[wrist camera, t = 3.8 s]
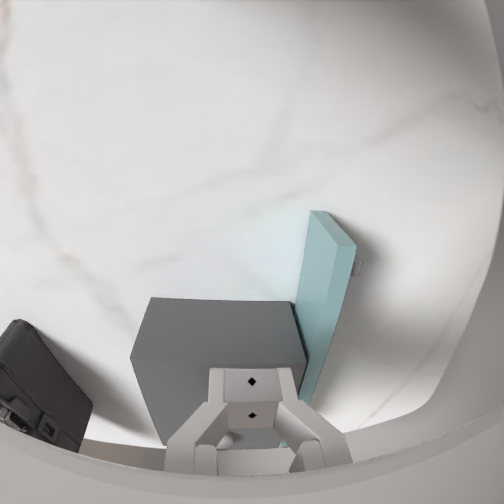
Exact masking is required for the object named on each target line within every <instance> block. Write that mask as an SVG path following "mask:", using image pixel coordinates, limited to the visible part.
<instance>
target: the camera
mask: <svg viewBox="0 0 504 504" xmlns="http://www.w3.org/2000/svg"><path fill="white" fill-rule="evenodd" d="M92 407H93V405H92V402H91V401H90V400H89V399H88V398H87V397H86V395H85V394H84V393H83V392H82V391H81V390H80V389H79V387H78V386H77V385H76V384H75V383H74V382H73V380H72V379H71V378H70V377H69V375H68V374H67V373H66V372H65V371H64V369H63V368H62V367H61V365H60V364H59V363H58V362H57V360H56V359H55V358H54V356H53V355H52V354H51V353H50V351H49V350H48V348H47V347H46V345H45V344H44V343H43V341H42V340H41V338H40V337H39V335H38V334H37V333H36V331H35V330H34V328H33V327H32V326H31V325H30V324H29V323H28V322H26V321H24V320H22V319H18V320H13V321H12V322H11V323H10V325H9V326H8V328H7V329H6V330H5V332H4V333H3V334H2V335H1V337H0V419H2V420H4V421H5V423H6V425H7V426H9V427H11V428H13V429H15V430H18V431H20V432H22V433H24V434H26V435H29V436H31V437H33V438H36V439H38V440H41V441H43V442H46V443H49V444H51V445H54V446H57V447H60V448H63V449H66V450H69V451H72V452H75V453H78V452H79V448H80V446H81V443H82V440H83V437H84V434H85V431H86V428H87V425H88V422H89V419H90V416H91V412H92Z"/></svg>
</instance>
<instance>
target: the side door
mask: <svg viewBox="0 0 504 504" xmlns="http://www.w3.org/2000/svg"><path fill="white" fill-rule="evenodd" d="M356 249H357V245H356V244H355V243H354V242H353V241H352V240H351V238H350V237H349V236H348V235H347V234H346V233H345V232H344V231H343V230H342V228H341V227H340V226H339V225H338V224H337V223H336V222H335V221H334V220H333V219H332V218H331V216H330V215H329V214H328V213H327V212H324V211H311V212H310V219H309V226H308V233H307V239H306V246H305V252H304V258H303V265H302V271H301V276H300V282H299V288H298V294H297V299H296V305H295V310H294V315H293V316H294V320H295V323H296V327H297V330H298V334H299V337H300V340H301V344H302V347H303V351H304V355H305V358H306V362H307V363H306V366H305V370H304V373H303V376H302V380H301V383H300V386H299V389H298V393H297V396H298V400H303V401H304V402H305V403H307V404H309V402H310V399H311V397H312V394H313V392H314V389H315V386H316V383H317V381H318V378H319V375H320V372H321V370H322V367H323V364H324V361H325V358H326V355H327V352H328V349H329V346H330V343H331V340H332V337H333V334H334V330H335V327H336V324H337V321H338V317H339V314H340V311H341V307H342V304H343V300H344V296H345V293H346V289H347V285H348V282H349V278H350V276H359V274H360V270H361V267H362V263H363V262H362V261H361V259H360V258H359V257H358V256H357V255H356ZM280 447H282V448H287V447H289V446H288V445H287V444H286V443H285V442H284V440H283V439H282V440H281V442H280Z"/></svg>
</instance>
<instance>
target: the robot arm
mask: <svg viewBox="0 0 504 504" xmlns="http://www.w3.org/2000/svg"><path fill="white" fill-rule="evenodd" d="M268 427H273V429H274V430H275V431H276V432H277V434H278V435H279V436H280V437H281V438H282V439H283V440H284V442H285V443H286V444H287V445H288V446H289V447H290V448H291V450H292V451H293V452H294V453H295V454H296V456H295V458H294V460H293V462H292V464H291V466H290V468H289V473H285V474H274V475H257V476H219V471H218V460H217V449H216V447H217V445H218V444H219V443H220V441H221V440H222V438H223V437H224V435H225V434H226V433H227V431H228V430H229V428H268ZM0 504H504V403H503V404H501V405H499V406H497V407H496V408H494V409H492V410H490V411H489V412H487V413H485V414H483V415H481V416H479V417H478V418H476V419H474V420H472V421H470V422H468V423H466V424H464V425H461V426H459V427H457V428H455V429H453V430H451V431H448V432H446V433H444V434H441V435H439V436H437V437H434V438H432V439H429V440H427V441H424V442H421V443H419V444H416V445H413V446H410V447H407V448H404V449H401V450H398V451H395V452H392V453H388V454H385V455H382V456H378V457H374V458H370V459H367V460H362V461H358V462H354V463H353V461H352V458H351V454H350V451H349V448H348V445H347V442H346V439H345V435H344V434H343V433H341V432H340V431H339V430H338V429H336V428H335V427H334V426H333V425H331V424H330V423H329V422H328V421H327V420H325V419H324V418H323V417H322V416H321V415H319V414H318V413H317V412H316V411H315V410H314V409H312V408H311V407H310V406H309V405H308V404H307V403H305V402H304V401H303V400H298V396H297V392H296V387H295V383H294V379H293V375H292V371H291V368H290V367H288V368H258V369H231V368H210V376H209V395H208V402H204V403H203V404H202V405H201V406H200V407H199V408H198V409H197V410H196V411H195V412H194V413H193V415H192V416H191V417H190V418H189V419H188V420H187V421H186V422H185V423H184V424H183V425H182V426H181V427H180V428H179V429H178V431H177V432H176V433H175V434H174V435H173V436H172V437H171V438H170V439H169V440H168V441H167V449H166V457H165V465H164V472H162V471H154V470H148V469H142V468H136V467H131V466H126V465H120V464H116V463H112V462H108V461H103V460H99V459H96V458H92V457H88V456H85V455H81V454H78V453H75V452H72V451H69V450H66V449H63V448H60V447H57V446H54V445H51V444H49V443H46V442H43V441H41V440H38V439H36V438H33V437H31V436H29V435H26V434H24V433H22V432H20V431H18V430H15V429H13V428H11V427H9V426H7V425H5V424H3V423H1V422H0Z"/></svg>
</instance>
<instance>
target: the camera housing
mask: <svg viewBox="0 0 504 504" xmlns="http://www.w3.org/2000/svg"><path fill="white" fill-rule="evenodd" d="M130 360H131V363H132V366H133V369H134V372H135V375H136V378H137V381H138V384H139V387H140V389H141V392H142V395H143V398H144V400H145V403H146V406H147V408H148V411H149V413H150V416H151V418H152V421H153V423H154V426H155V428H156V430H157V433H158V435H159V437H160V439H161V442H162V444H163V446H167V441H168V440H169V439H170V438H171V437H172V436H173V435H174V434H175V433H176V432H177V431H178V429H179V428H180V427H181V426H182V425H183V424H184V423H185V422H186V421H187V420H188V419H189V418H190V417H191V416H192V415H193V413H194V412H195V411H196V410H197V409H198V408H199V407H200V406H201V405H202V404H203V403H204V402H208V395H209V376H210V368H231V369H258V368H288V367H290V368H291V371H292V375H293V379H294V383H295V387H296V392H297V393H298V389H299V386H300V383H301V380H302V376H303V373H304V370H305V366H306V363H307V362H306V358H305V355H304V351H303V347H302V344H301V340H300V337H299V334H298V330H297V327H296V323H295V320H294V316H293V313H292V309H291V306H290V303H289V301H221V300H192V299H170V298H152V297H151V299H150V302H149V304H148V307H147V310H146V312H145V315H144V318H143V321H142V323H141V326H140V329H139V332H138V335H137V338H136V340H135V343H134V346H133V349H132V352H131V355H130ZM281 440H282V438H281V437H280V436H279V435H278V434H277V432H276V431H275V430H274V429H273V427H268V428H229V430H228V431H227V433H226V434H225V435H224V437H223V438H222V440H221V441H220V443H219V444H218V445H217V447H216V449H217V450H236V449H238V450H239V449H240V450H241V449H269V448H278V447H279V445H280V442H281Z"/></svg>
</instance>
